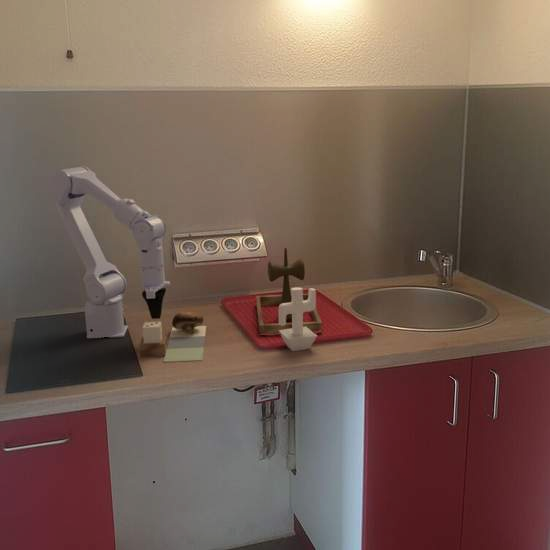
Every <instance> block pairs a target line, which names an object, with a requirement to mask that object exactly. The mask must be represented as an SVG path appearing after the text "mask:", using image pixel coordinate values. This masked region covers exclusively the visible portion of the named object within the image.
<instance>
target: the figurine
mask: <svg viewBox="0 0 550 550" xmlns="http://www.w3.org/2000/svg"><path fill="white" fill-rule="evenodd" d="M290 291H291V296H292V301H291V302H290V303H282V304H280V305H278V312H277V313H278V314H277V317H278V316H279V318H278V323H279V324H280V325H281V326H285V325H286V323H287V320H286V315H287V314H292V319H291V323H292V328H291V329H284V330H279V332H280V334H281V335H280V337H282V340H283V341H284V343H286V344H287V345H286V344H285V345H286V346H287V348H288V349H290V350H291V352H297V351H298V352H299V351H303V350H308V349H309V350H310V348H311V347H312V346H313V344H314V342H315V340H316V339H317V337H318V335H317V333H313V332H312V331H311V330H310V329H308V328H307V327H306V326H305V327H303V322H304V316H303V315H304V313H307V312H310V311H313V310H314V309H315V307H316V306H317V304H316V303H317V291H316V289H315V288H312V287H311V288H309V289H308V293H307V294H308V300H305V301H303V294H304V290H303V287H292V288H290ZM316 308H317V307H316Z"/></svg>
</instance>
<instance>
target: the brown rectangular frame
mask: <svg viewBox="0 0 550 550" xmlns="http://www.w3.org/2000/svg"><path fill="white" fill-rule="evenodd" d="M255 297H256V298H255V300H256V303H255V304H256V315H257V314H258V315H257V323H259V324H258V332H260V334H277V333H280V332H279V330H284V329H291V328H292V322H286V325H285V326H281V325H280V324H279V322H278V323H264V320H263V312H262V307H266V306H267V307H269V306H271V307H273V306H279V305H280V304H279V303H278V301H279V300H280V299H281V297H282V294H275V295H274V294H273V295H256V296H255ZM305 300H308V293H303V301H305ZM309 312H310V314H312V315H311V318H312V317H313V318H312V320H313V319H314V320H313V321H309V322H308V321H305V322H304V321H303V327H305V326H306V327H307V328H308V329H310V330H311V331H319V330H322V331H323V323H322V319H321V317H320V314H319V312H318V310H317V307H315V309H314V310H313V311H309ZM260 334H259V335H260Z"/></svg>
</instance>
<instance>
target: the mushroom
mask: <svg viewBox="0 0 550 550" xmlns="http://www.w3.org/2000/svg"><path fill="white" fill-rule="evenodd" d="M203 322H204V316H203V315H202V314H200V313H198V312H196V311H192V310H184V311H180V312H178V313H177V314H176V315H175V316H174V317H173V318H172V322H171V323H172V324H171V325H172V327H174V328H175V329H182V330H183V331H184V332H186V333H195V332H194V328H195V327H197V326H202V324H203Z"/></svg>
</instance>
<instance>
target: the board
mask: <svg viewBox="0 0 550 550" xmlns="http://www.w3.org/2000/svg"><path fill="white" fill-rule="evenodd" d="M206 331H207V325H199V326H197V327H195V328H194V332H195V333H186V332H184V331H183V330H182V329H175V328H174V327H173V326H172V328H171V332H170V335H169V339H168V342H167V344H168V346H167V350H166V354H165V356H164V359H163V363H177V362H180V363H181V362H197V361H198V362H199V361H200V362H202V361H203V358H204V349H205V341H206Z"/></svg>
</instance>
